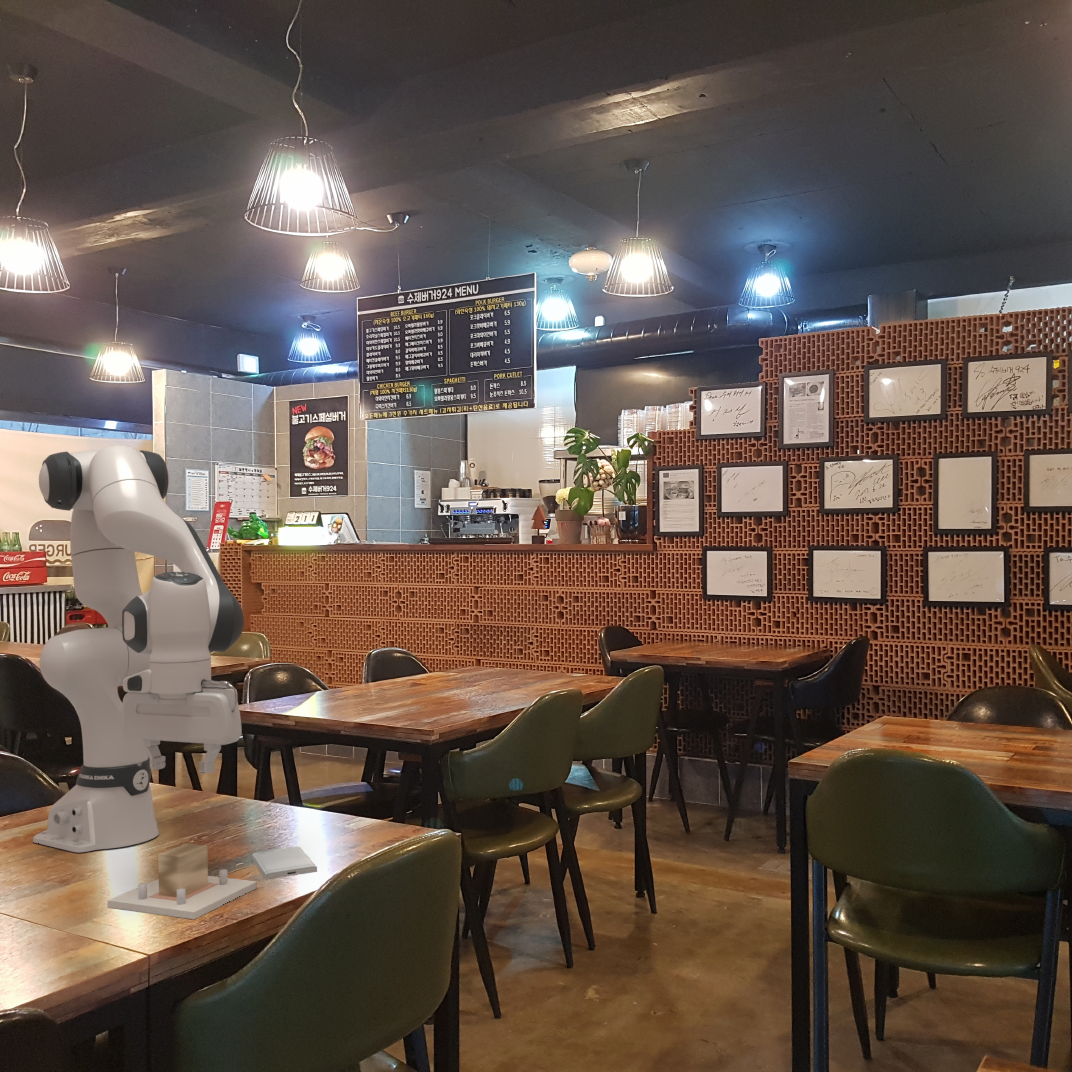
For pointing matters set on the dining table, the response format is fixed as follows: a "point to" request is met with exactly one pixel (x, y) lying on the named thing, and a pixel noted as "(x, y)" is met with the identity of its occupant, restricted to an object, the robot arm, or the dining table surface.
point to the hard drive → (283, 863)
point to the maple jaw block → (183, 869)
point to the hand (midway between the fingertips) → (182, 770)
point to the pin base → (183, 897)
